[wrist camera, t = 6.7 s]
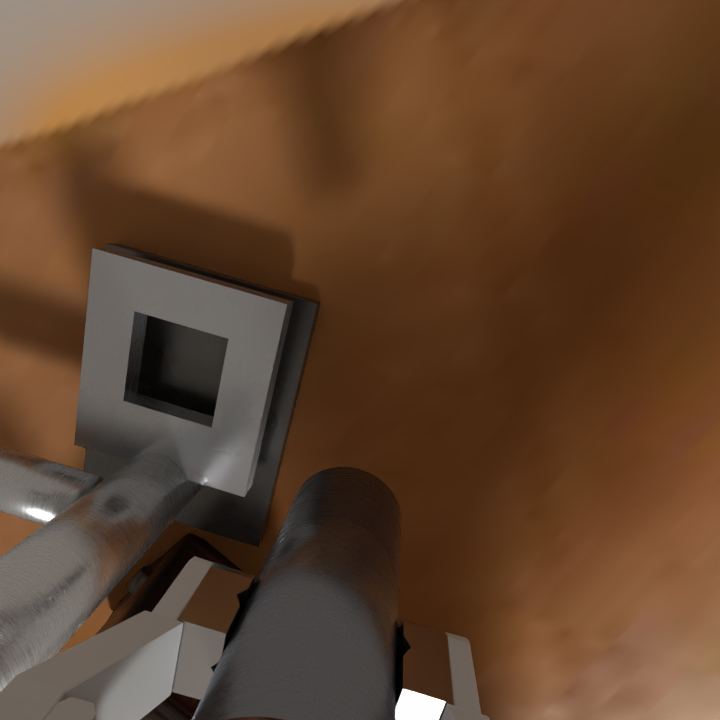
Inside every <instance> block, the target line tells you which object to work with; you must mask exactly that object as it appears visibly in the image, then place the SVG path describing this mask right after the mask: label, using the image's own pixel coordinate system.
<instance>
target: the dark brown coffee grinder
mask: <svg viewBox="0 0 720 720" xmlns="http://www.w3.org/2000/svg"><path fill="white" fill-rule="evenodd" d="M194 556H196V557H198V558H201V559H204V560H207V561H210V562H213V563H218V564H221V565H224V566H227V567H230V568H233V569H236V570H239V571H241V570H240V569H238V568H237V567H236V566H235V565H234V564H233V563H231V562H230V561H229V560H228V559H227V558H225V557H224V556H223V555H222V554H220V553H219V552H218V551H217V550H216V549H214V548H213V547H212V546H211V545H209V544H208V543H207V542H206V541H205V540H203V539H201V538H199V537H196V536H194V535H192V534H187V535H186V536H185V537H183V538H182V539H181V540H180V541H179V542H178V543H177V544H175V545H174V546H173V547H172V548H171V549H170V550H169V551H167V552H166V553H165V554H164V555H163V556H161V557H160V558H159V559H158V560H157V561H155V562H154V563H153V564H152V565H150V566H144V567H143V568H142V569H141V570H139V571H138V572H137V573H136V574H135V576H134V577H133V578H132V579H131V580H130V581H129V582H128V583H127V584H126V586H127V590H128V591H129V592H128V593H127V594H126V595H125V597H124V598H123V599H121V600H120V601H119V603H118V605H117V606H116V608H115V609H114V611H113V612H112V614H111V616H110V617H109V619H108V620H107V622H106V623H105V624H104V625H103V627H102V628H101V629H100V630H99V631H98V632H97V634H99V633H101V632H103V631H105V630H107V629H109V628H111V627H113V626H115V625H117V624H119V623H121V622H123V621H125V620H127V619H129V618H131V617H133V616H135V615H137V614H139V613H141V612H143V611H149V612H152V611H153V609H154V608H155V607H156V605H157V604H158V603H159V601H160V600H161V598H162V597H163V596H164V594H165V593H166V592H167V590H168V589H169V587H170V586H171V585H172V583H173V582H174V580H175V579H176V578H177V576H178V575H179V574H180V572H181V571H182V569H183V568H184V567H185V565H186V564H187V563H188V561H189V560H190V559H192V558H193V557H194ZM97 634H96V635H97ZM200 701H201V700H199V699H196V698H192V697H189V696H185V695H182V694H178V693H174V692H171V695H170V696H169V697H168V698H166V699H165V700H164V701H163V702H161V703H160V704H159V705H158V706H156V707H155V708H154V709H153V710H152V711H150V712H149V713H148V714H147V715H145V716H144V717H143V718H142V719H140V720H192V718H193V716H194V713H195V711H196V709H197V707H198V705H199V703H200Z"/></svg>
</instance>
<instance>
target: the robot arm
mask: <svg viewBox="0 0 720 720" xmlns="http://www.w3.org/2000/svg"><path fill="white" fill-rule="evenodd" d="M255 581H256V576H254V575H251V574H248V573H245V572H242V571H239V570H236V569H233V568H230V567H227V566H224V565H221V564H218V563H213V562H210V561H207V560H204V559H201V558H198V557H196V556H194V557H193V558H192V559H190V560H189V561H188V563H187V564H186V565H185V567H184V568H183V569H182V571H181V572H180V574H179V575H178V576H177V578H176V579H175V580H174V582H173V583H172V585H171V586H170V587H169V589H168V590H167V592H166V593H165V594H164V596H163V597H162V598H161V600H160V601H159V603H158V604H157V605H156V607H155V608H154V609H153V611H152V612H149V611H143V612H141V613H139V614H137V615H135V616H133V617H131V618H129V619H127V620H125V621H123V622H121V623H119V624H117V625H115V626H113V627H111V628H109V629H107V630H105V631H103V632H101V633H99V634H97V635H95V636H93V637H91V638H89V639H87V640H85V641H83V642H81V643H79V644H77V645H75V646H74V647H72V648H70V649H68V650H66V651H64V652H62V653H60V654H58V655H56V656H54V657H52V658H50V659H48V660H46V661H44V662H42V663H40V664H38V665H36V666H34V667H32V668H30V669H28V670H26V671H24V672H22V673H20V674H18V675H16V676H15V677H14V678H13V679H12V680H11V681H10V682H9V684H8V685H7V686H6V687H5V688H4V689H3V690H2V691H1V692H0V720H140V719H142V718H143V717H144V716H145V715H147V714H148V713H149V712H150V711H152V710H153V709H154V708H155V707H156V706H158V705H159V704H160V703H161V702H163V701H164V700H165V699H166V698H168V697H169V696H170V695H171V692H174V693H178V694H182V695H185V696H189V697H192V698H196V699H199V700H201V698H202V696H203V694H204V692H205V690H206V688H207V686H208V684H209V681H210V679H211V677H212V675H213V673H214V671H215V669H216V666H217V664H218V662H219V660H220V658H221V656H222V654H223V652H224V649H225V647H226V645H227V643H228V641H229V639H230V637H231V634H232V632H233V630H234V628H235V626H236V624H237V622H238V619H239V617H240V615H241V613H242V611H243V609H244V607H245V605H246V602H247V600H248V598H249V596H250V594H251V592H252V590H253V587H254V585H255ZM395 720H490V718H489V717H488V716H486V715H483V714H481V708H480V702H479V696H478V690H477V684H476V678H475V672H474V665H473V659H472V653H471V647H470V642H469V641H468V639H467V638H465V637H461V636H458V635H454V634H451V633H447V632H445V633H444V632H443V631H440V630H437V629H433V628H430V627H426V626H423V625H419V624H416V623H412V622H409V621H405V620H401V622H400V623H399V626H398V639H397V672H396V705H395Z"/></svg>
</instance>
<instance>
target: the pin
mask: <svg viewBox="0 0 720 720" xmlns="http://www.w3.org/2000/svg"><path fill="white" fill-rule="evenodd" d="M400 540H401V512H400V508H399V505H398V502H397V500H396V498H395V496H394V494H393V493H392V491H391V490H390V489H389V488H388V486H387V485H386V484H385V483H383V482H382V481H381V480H380V479H378V478H377V477H375V476H374V475H372V474H370V473H368V472H365V471H363V470H360V469H355V468H349V467H336V468H330V469H327V470H323V471H321V472H319V473H317V474H315V475H313V476H312V477H311V478H309V479H308V480H307V481H306V482H305V483H304V484H303V485H302V487H301V488H300V490H299V491H298V493H297V495H296V497H295V500H294V502H293V504H292V506H291V508H290V510H289V512H288V515H287V517H286V519H285V521H284V523H283V525H282V527H281V530H280V532H279V534H278V536H277V538H276V540H275V542H274V545H273V547H272V549H271V551H270V553H269V555H268V557H267V559H266V562H265V564H264V566H263V568H262V570H261V572H260V574H259V577H258V579H257V581H256V583H255V585H254V587H253V590H252V592H251V594H250V596H249V598H248V600H247V602H246V605H245V607H244V609H243V611H242V613H241V615H240V617H239V619H238V622H237V624H236V626H235V628H234V630H233V632H232V634H231V637H230V639H229V641H228V643H227V645H226V647H225V649H224V652H223V654H222V656H221V658H220V660H219V662H218V664H217V666H216V669H215V671H214V673H213V675H212V677H211V679H210V681H209V684H208V686H207V688H206V690H205V692H204V694H203V696H202V698H201V701H200V703H199V705H198V707H197V709H196V711H195V713H194V716H193V718H192V720H395V705H396V672H397V639H398V606H399V573H400Z"/></svg>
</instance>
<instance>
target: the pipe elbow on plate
mask: <svg viewBox="0 0 720 720" xmlns="http://www.w3.org/2000/svg"><path fill="white" fill-rule="evenodd" d="M319 306H320V302H317V301H314V300H310V299H307V298H303V297H300V296H296V295H293V294H289V293H286V292H283V291H279V290H276V289H272V288H269V287H265V286H262V285H258V284H255V283H251V282H248V281H244V280H241V279H237V278H234V277H230V276H227V275H223V274H220V273H217V272H213V271H210V270H206V269H203V268H199V267H196V266H192V265H189V264H185V263H182V262H178V261H175V260H171V259H168V258H164V257H161V256H157V255H154V254H151V253H147V252H144V251H140V250H137V249H133V248H130V247H126V246H123V245H119V244H107V248H92V259H91V270H90V281H89V292H88V302H87V313H86V324H85V335H84V346H83V356H82V367H81V378H80V389H79V400H78V410H77V421H76V432H75V443H74V445H77V446H80V447H83V448H86V456H85V466H84V471H81V470H78V469H75V468H72V467H69V466H65V465H62V464H59V463H56V462H53V461H49V460H46V459H43V458H40V457H36V456H33V455H30V454H27V453H24V452H20V451H17V450H14V449H11V448H8V447H4V446H1V445H0V511H1V512H5V513H8V514H11V515H14V516H17V517H20V518H23V519H27V520H30V521H33V522H36V523H39V524H42V525H43V526H42V527H40V528H39V529H38V530H36V531H35V532H34V533H32V534H31V535H30V536H28V537H27V538H26V539H24V540H23V541H22V542H20V543H19V544H18V545H16V546H15V547H14V548H12V549H11V550H10V551H8V552H7V553H6V554H4V555H3V556H2V557H0V692H1V691H2V690H3V689H4V688H5V687H6V686H7V685H8V684H9V682H10V681H11V680H12V679H13V678H14V677H15V676H16V675H18V674H20V673H22V672H24V671H26V670H28V669H30V668H32V667H34V666H36V665H38V664H40V663H42V662H44V661H46V660H48V659H50V658H52V657H54V656H55V655H56V654H57V653H58V651H59V650H60V649H61V648H62V647H63V646H64V645H65V644H66V642H67V641H68V640H69V639H70V638H71V637H72V636H73V634H74V633H75V632H76V631H77V630H78V629H79V628H80V626H81V625H82V624H83V623H84V622H85V621H86V620H87V618H88V617H89V616H90V615H91V614H92V613H93V612H94V610H95V609H96V608H97V607H98V606H99V605H100V604H101V602H102V601H103V600H104V599H105V598H106V597H107V596H108V595H109V593H110V592H111V591H112V590H113V589H114V588H115V587H116V585H117V584H118V583H119V582H120V581H121V580H122V579H123V577H124V576H125V575H126V574H127V573H128V572H129V571H130V569H131V568H132V567H133V566H134V565H135V564H136V563H137V561H138V560H139V559H140V558H141V557H142V556H143V555H144V553H145V552H146V551H147V550H148V549H149V548H150V547H151V545H152V544H153V543H154V542H155V541H156V540H157V539H158V538H159V536H160V535H161V534H162V533H163V532H164V531H165V530H166V528H167V527H168V526H169V525H170V524H171V523H172V522H173V520H174V521H177V522H180V523H183V524H186V525H190V526H193V527H196V528H199V529H202V530H206V531H209V532H212V533H215V534H218V535H221V536H225V537H228V538H231V539H234V540H237V541H241V542H244V543H247V544H250V545H253V546H257V547H259V545H260V543H261V541H262V539H263V535H264V531H265V527H266V523H267V519H268V515H269V511H270V507H271V503H272V498H273V494H274V490H275V486H276V482H277V478H278V474H279V470H280V466H281V462H282V457H283V453H284V449H285V445H286V441H287V437H288V433H289V429H290V425H291V421H292V417H293V412H294V408H295V404H296V400H297V396H298V392H299V388H300V384H301V380H302V376H303V372H304V367H305V363H306V359H307V355H308V351H309V347H310V343H311V339H312V335H313V331H314V326H315V322H316V318H317V314H318V310H319Z"/></svg>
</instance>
